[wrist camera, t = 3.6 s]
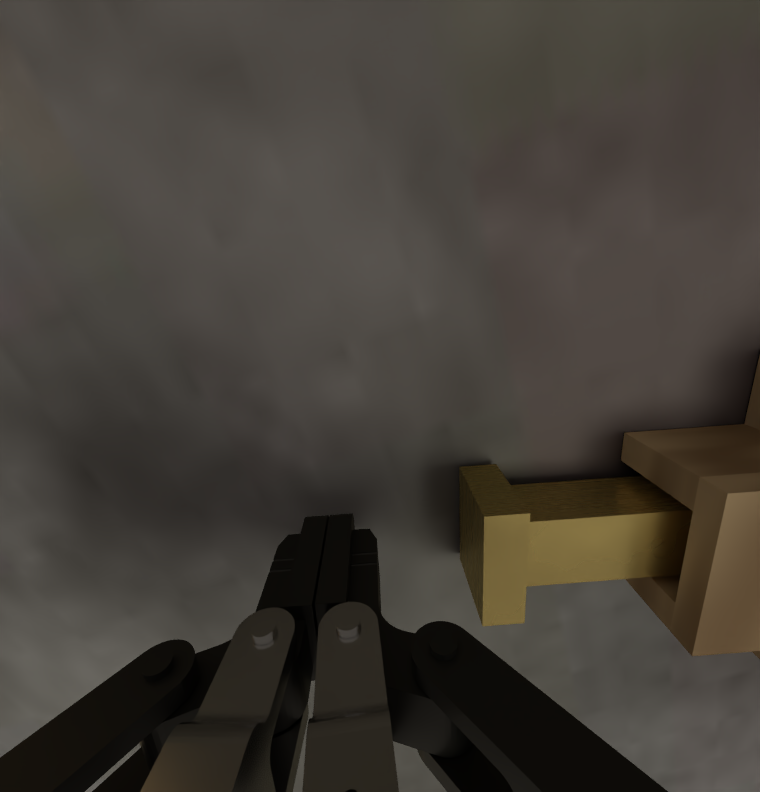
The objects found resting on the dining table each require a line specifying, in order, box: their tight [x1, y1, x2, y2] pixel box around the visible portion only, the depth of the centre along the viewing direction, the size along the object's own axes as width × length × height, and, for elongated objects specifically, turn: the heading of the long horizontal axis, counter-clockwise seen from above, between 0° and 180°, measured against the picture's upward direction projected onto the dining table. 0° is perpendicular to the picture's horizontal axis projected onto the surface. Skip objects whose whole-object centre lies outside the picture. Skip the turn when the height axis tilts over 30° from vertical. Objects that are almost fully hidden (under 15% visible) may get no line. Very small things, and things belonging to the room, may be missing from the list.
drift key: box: [459, 464, 693, 626], centre depth 12 cm, size 8×4×3 cm, turn 94°
